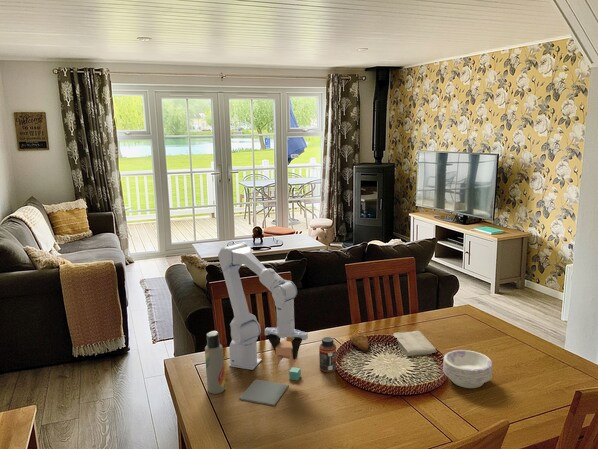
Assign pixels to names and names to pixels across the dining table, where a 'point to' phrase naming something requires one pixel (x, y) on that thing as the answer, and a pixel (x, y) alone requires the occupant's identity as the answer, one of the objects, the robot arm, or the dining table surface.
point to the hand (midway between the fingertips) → (286, 356)
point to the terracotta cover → (285, 352)
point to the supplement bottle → (327, 355)
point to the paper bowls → (467, 368)
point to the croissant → (360, 341)
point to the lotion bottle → (214, 363)
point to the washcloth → (414, 343)
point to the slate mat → (264, 392)
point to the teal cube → (295, 373)
